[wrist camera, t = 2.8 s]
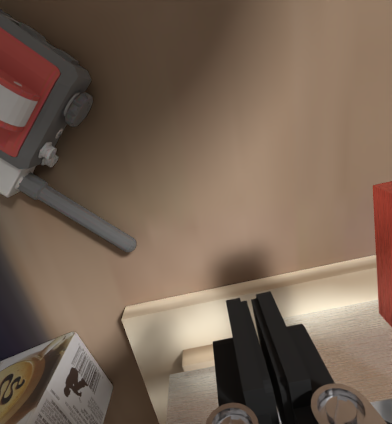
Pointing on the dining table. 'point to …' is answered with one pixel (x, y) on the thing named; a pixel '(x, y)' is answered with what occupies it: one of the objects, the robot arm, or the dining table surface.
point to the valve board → (219, 319)
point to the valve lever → (384, 247)
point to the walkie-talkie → (42, 119)
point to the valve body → (330, 353)
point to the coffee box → (54, 385)
